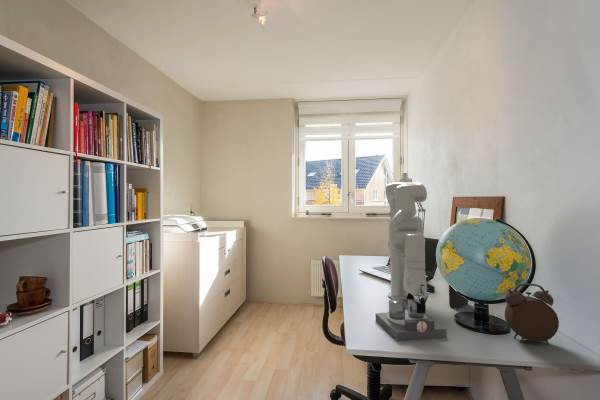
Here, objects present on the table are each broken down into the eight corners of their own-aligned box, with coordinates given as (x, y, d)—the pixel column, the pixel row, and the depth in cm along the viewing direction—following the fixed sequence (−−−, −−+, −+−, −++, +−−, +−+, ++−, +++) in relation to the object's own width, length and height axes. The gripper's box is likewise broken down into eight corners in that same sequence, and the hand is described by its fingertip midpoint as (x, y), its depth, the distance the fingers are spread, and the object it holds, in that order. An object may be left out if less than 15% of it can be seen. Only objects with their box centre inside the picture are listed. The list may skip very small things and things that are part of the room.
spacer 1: (386, 314, 117) (386, 299, 118) (400, 313, 118) (400, 298, 118) (393, 320, 112) (393, 304, 112) (408, 319, 112) (407, 303, 113)
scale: (375, 320, 122) (375, 305, 122) (418, 317, 125) (417, 303, 125) (397, 341, 103) (397, 323, 103) (447, 337, 105) (446, 320, 106)
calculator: (460, 302, 145) (459, 271, 145) (469, 304, 141) (468, 273, 141) (448, 306, 139) (447, 274, 139) (457, 309, 135) (456, 276, 135)
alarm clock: (547, 338, 104) (545, 281, 105) (561, 348, 97) (559, 287, 98) (501, 335, 107) (500, 280, 108) (511, 344, 100) (510, 285, 100)
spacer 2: (405, 313, 119) (404, 298, 119) (418, 312, 119) (418, 297, 120) (412, 319, 113) (412, 303, 113) (427, 318, 113) (426, 302, 114)
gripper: (395, 261, 125) (396, 303, 124) (417, 269, 107) (418, 318, 107) (412, 260, 126) (413, 302, 125) (436, 268, 108) (437, 317, 108)
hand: (415, 309), depth 116 cm, fingers open, 7 cm apart
